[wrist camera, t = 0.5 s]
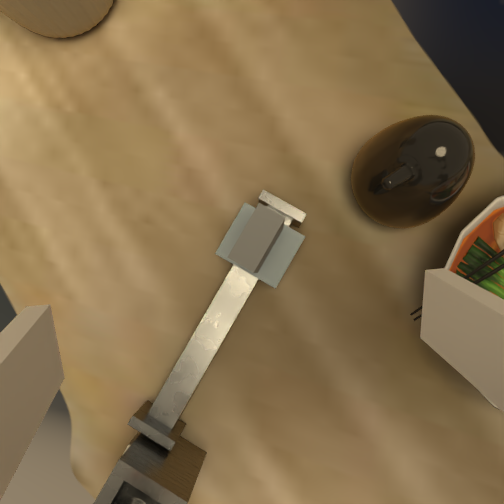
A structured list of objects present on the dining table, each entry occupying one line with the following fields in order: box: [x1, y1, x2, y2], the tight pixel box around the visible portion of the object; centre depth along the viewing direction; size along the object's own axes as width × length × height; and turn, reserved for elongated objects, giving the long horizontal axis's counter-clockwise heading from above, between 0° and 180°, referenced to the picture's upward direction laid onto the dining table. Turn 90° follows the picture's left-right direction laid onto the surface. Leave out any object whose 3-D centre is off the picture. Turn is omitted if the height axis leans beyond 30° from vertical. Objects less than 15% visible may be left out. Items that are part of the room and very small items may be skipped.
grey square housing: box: [94, 432, 206, 504], centre depth 41 cm, size 7×7×10 cm
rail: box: [128, 190, 306, 451], centre depth 44 cm, size 5×27×5 cm, turn 150°
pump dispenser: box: [351, 115, 475, 228], centre depth 39 cm, size 10×10×15 cm
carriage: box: [215, 203, 305, 289], centre depth 40 cm, size 7×6×14 cm
